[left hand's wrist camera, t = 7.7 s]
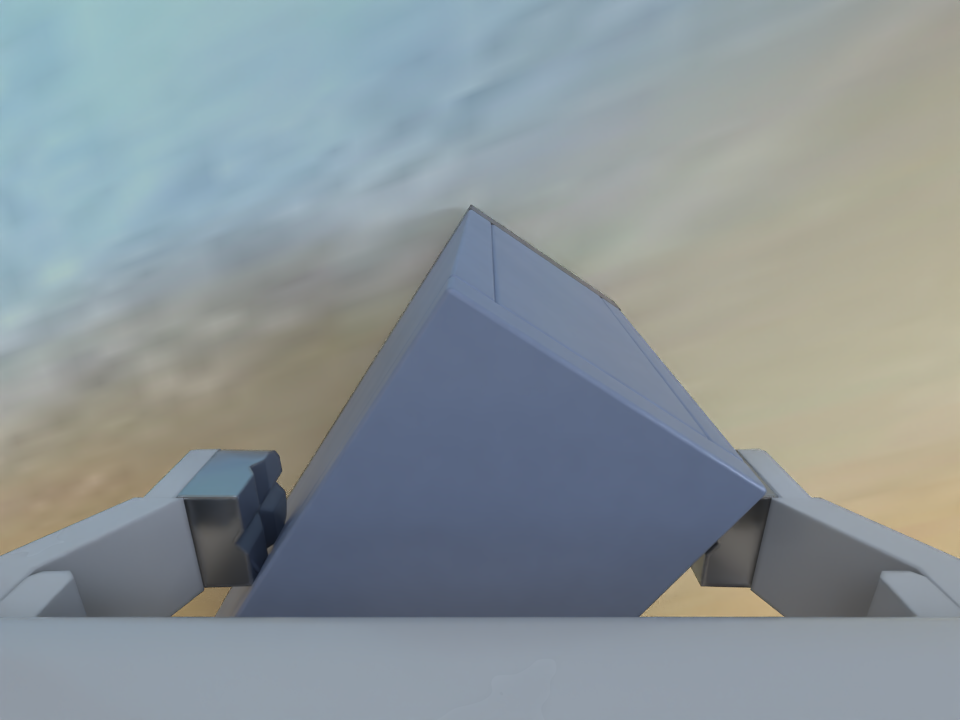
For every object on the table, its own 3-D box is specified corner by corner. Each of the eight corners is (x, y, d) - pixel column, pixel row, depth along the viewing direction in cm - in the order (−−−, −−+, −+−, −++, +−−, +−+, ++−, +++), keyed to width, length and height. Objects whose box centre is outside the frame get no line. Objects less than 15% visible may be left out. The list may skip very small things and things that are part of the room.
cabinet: (353, 637, 22) (256, 990, 13) (234, 581, 21) (35, 922, 12) (613, 301, 17) (772, 491, 7) (470, 204, 16) (447, 283, 6)
